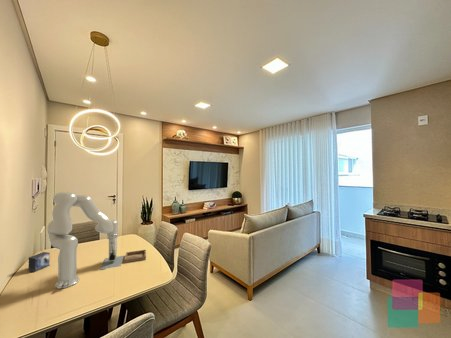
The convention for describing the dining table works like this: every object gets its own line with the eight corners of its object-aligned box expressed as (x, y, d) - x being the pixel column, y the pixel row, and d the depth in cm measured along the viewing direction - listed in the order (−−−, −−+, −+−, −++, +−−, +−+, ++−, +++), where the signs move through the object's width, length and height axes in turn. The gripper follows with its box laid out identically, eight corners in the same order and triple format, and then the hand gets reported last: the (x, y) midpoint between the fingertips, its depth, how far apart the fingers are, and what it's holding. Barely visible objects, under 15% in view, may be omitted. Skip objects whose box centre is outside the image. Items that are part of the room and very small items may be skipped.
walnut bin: (145, 260, 162) (145, 256, 162) (124, 263, 156) (124, 260, 156) (146, 252, 177) (145, 249, 177) (126, 255, 171) (126, 252, 171)
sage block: (115, 259, 157) (115, 251, 157) (108, 261, 156) (108, 252, 156) (116, 257, 162) (116, 248, 162) (109, 258, 160) (109, 249, 160)
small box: (34, 272, 144) (34, 258, 144) (27, 271, 146) (27, 257, 146) (50, 265, 155) (50, 252, 155) (43, 264, 156) (43, 251, 156)
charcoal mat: (120, 266, 152) (120, 266, 152) (99, 270, 147) (99, 269, 147) (123, 256, 170) (123, 255, 171) (105, 259, 165) (105, 258, 165)
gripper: (116, 238, 152) (116, 262, 152) (119, 232, 168) (119, 253, 168) (105, 240, 150) (105, 263, 149) (109, 233, 165) (109, 254, 165)
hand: (112, 258), depth 159 cm, fingers closed on sage block, 5 cm apart
